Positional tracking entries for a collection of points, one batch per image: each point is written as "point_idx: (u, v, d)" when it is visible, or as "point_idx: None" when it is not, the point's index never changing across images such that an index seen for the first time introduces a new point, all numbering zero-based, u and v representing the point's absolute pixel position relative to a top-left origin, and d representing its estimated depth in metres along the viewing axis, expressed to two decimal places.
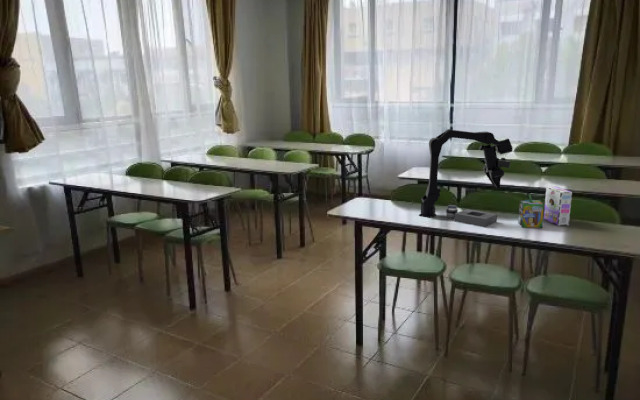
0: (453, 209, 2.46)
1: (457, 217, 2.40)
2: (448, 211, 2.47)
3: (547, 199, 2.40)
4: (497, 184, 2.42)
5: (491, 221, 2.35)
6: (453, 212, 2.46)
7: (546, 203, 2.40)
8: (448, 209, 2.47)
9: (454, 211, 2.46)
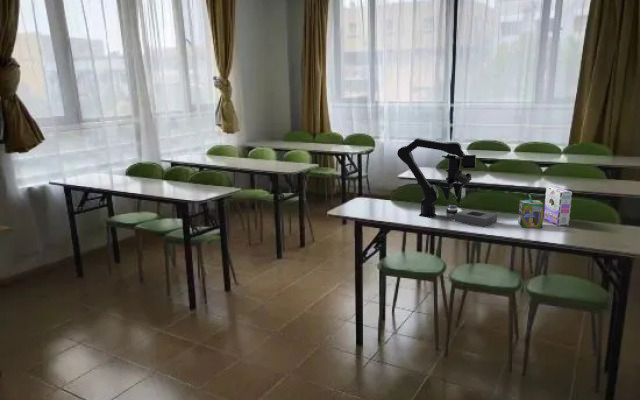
0: (453, 209, 2.46)
1: (457, 217, 2.40)
2: (448, 211, 2.47)
3: (547, 199, 2.40)
4: (446, 195, 2.43)
5: (491, 221, 2.35)
6: (453, 212, 2.46)
7: (546, 203, 2.40)
8: (448, 209, 2.47)
9: (454, 211, 2.46)
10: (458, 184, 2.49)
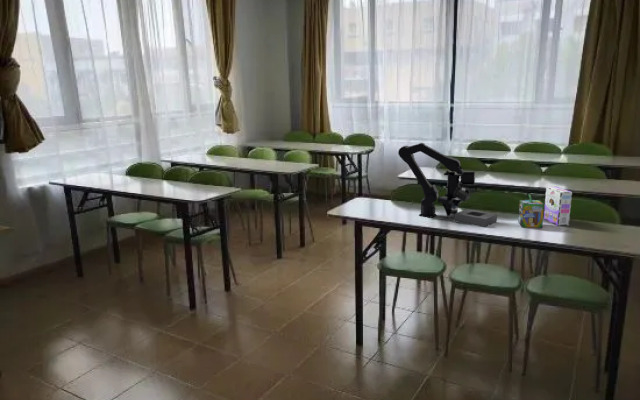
0: (453, 209, 2.46)
1: (457, 217, 2.40)
2: None
3: (547, 199, 2.40)
4: (447, 211, 2.46)
5: (491, 221, 2.35)
6: (453, 212, 2.46)
7: (546, 203, 2.40)
8: None
9: (454, 211, 2.46)
10: (455, 200, 2.50)
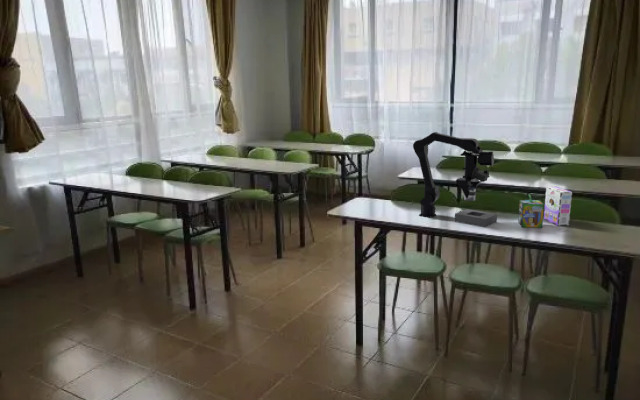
0: (471, 191, 2.38)
1: (457, 217, 2.40)
2: None
3: (547, 199, 2.40)
4: (465, 193, 2.38)
5: (491, 221, 2.35)
6: (471, 194, 2.38)
7: (546, 203, 2.40)
8: None
9: (472, 193, 2.38)
10: (473, 182, 2.42)
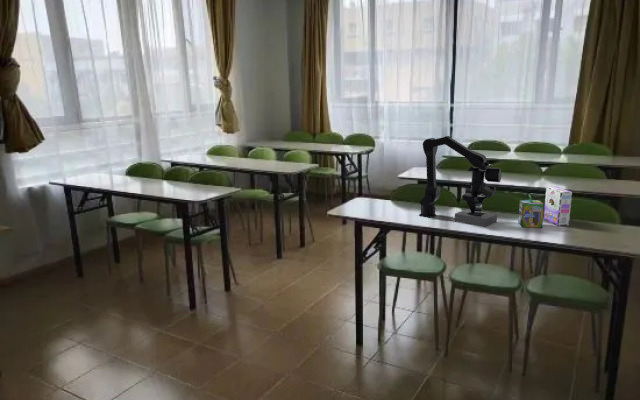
0: (478, 206, 2.36)
1: (457, 217, 2.40)
2: None
3: (547, 199, 2.40)
4: (471, 208, 2.37)
5: (491, 221, 2.35)
6: (478, 209, 2.36)
7: (546, 203, 2.40)
8: None
9: (479, 208, 2.36)
10: (480, 197, 2.40)
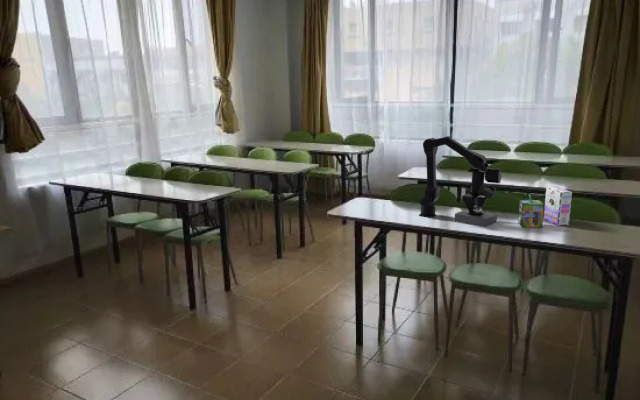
0: (477, 210, 2.37)
1: (457, 217, 2.40)
2: None
3: (547, 199, 2.40)
4: (470, 210, 2.35)
5: (491, 221, 2.35)
6: (477, 213, 2.37)
7: (546, 203, 2.40)
8: None
9: (478, 212, 2.37)
10: (481, 198, 2.42)
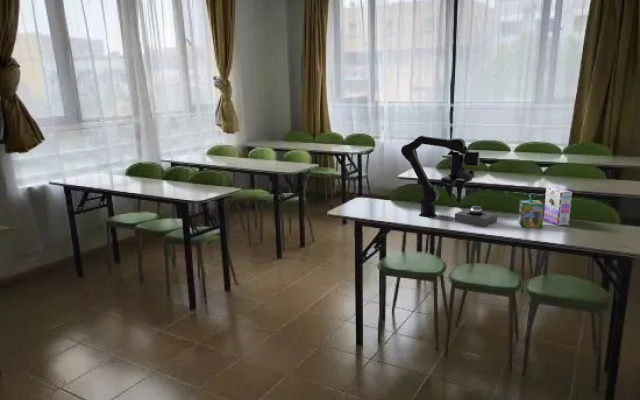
0: (477, 210, 2.37)
1: (457, 217, 2.40)
2: (472, 212, 2.38)
3: (547, 199, 2.40)
4: (448, 192, 2.41)
5: (491, 221, 2.35)
6: (477, 213, 2.37)
7: (546, 203, 2.40)
8: (472, 210, 2.38)
9: (478, 212, 2.37)
10: (460, 181, 2.47)
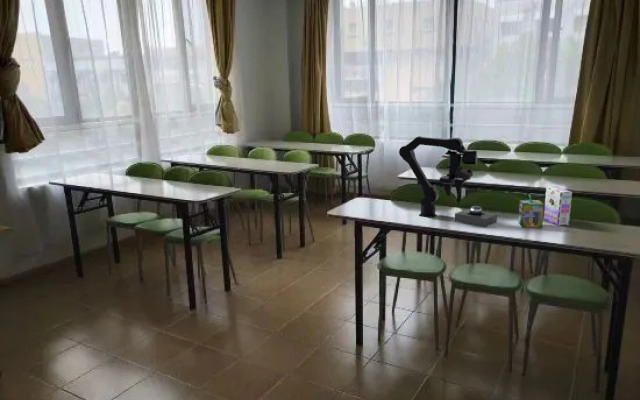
0: (477, 210, 2.37)
1: (457, 217, 2.40)
2: (472, 212, 2.38)
3: (547, 199, 2.40)
4: (447, 191, 2.41)
5: (491, 221, 2.35)
6: (477, 213, 2.37)
7: (546, 203, 2.40)
8: (472, 210, 2.38)
9: (478, 212, 2.37)
10: (459, 180, 2.48)
